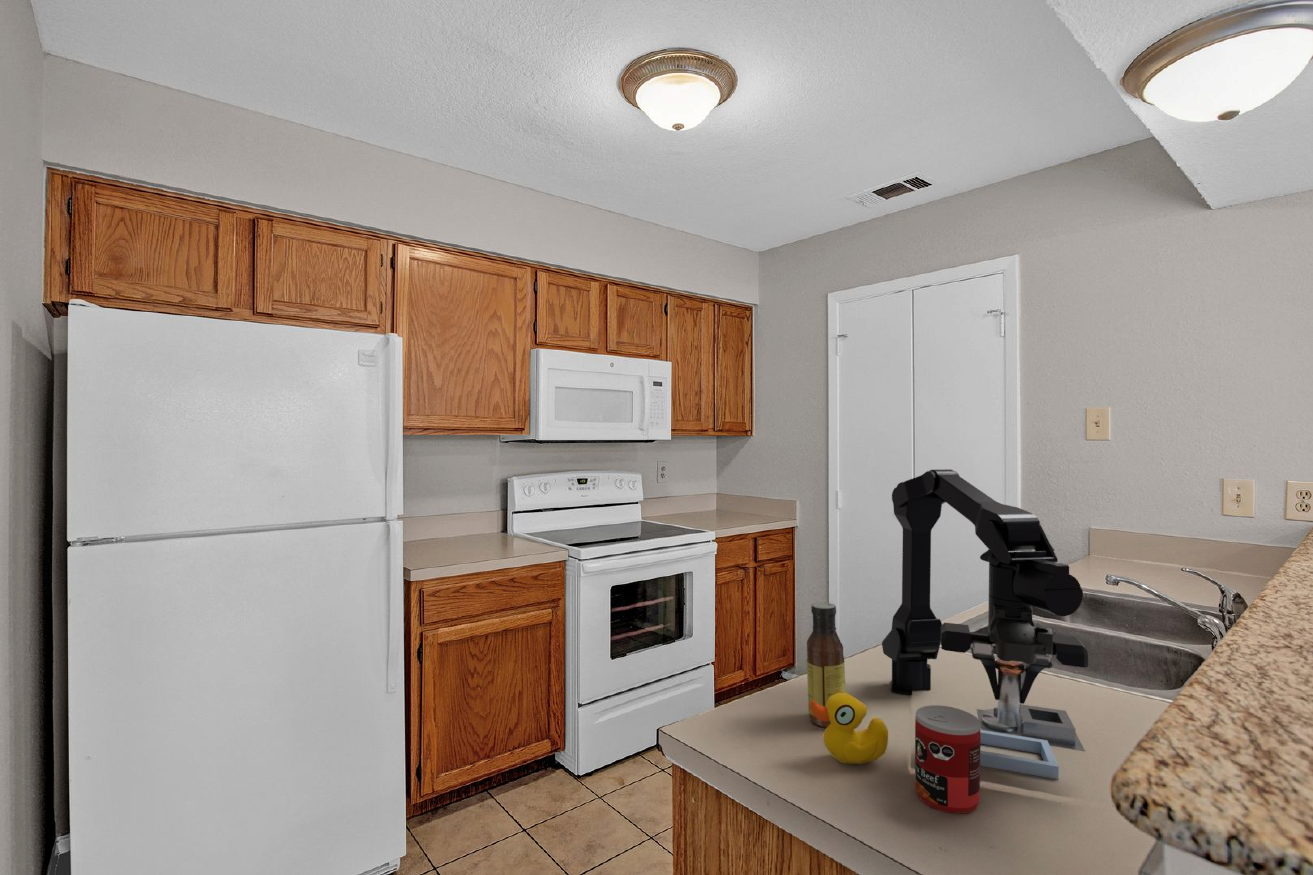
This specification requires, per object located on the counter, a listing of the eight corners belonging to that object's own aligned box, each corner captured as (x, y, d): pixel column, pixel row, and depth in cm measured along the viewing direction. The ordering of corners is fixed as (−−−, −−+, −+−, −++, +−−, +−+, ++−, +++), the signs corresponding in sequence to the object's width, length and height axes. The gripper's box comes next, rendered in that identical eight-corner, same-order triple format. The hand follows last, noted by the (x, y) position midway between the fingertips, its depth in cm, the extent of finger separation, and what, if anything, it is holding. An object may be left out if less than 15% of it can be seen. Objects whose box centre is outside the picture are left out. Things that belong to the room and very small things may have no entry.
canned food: (904, 783, 89) (905, 705, 89) (959, 780, 90) (959, 703, 90) (932, 816, 82) (933, 731, 82) (992, 813, 82) (993, 728, 82)
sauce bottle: (848, 717, 110) (849, 602, 110) (843, 733, 104) (843, 611, 104) (810, 710, 113) (810, 598, 112) (802, 725, 107) (803, 607, 107)
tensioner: (982, 739, 102) (982, 718, 102) (976, 713, 112) (976, 694, 111) (1085, 756, 97) (1085, 734, 97) (1070, 727, 106) (1070, 707, 106)
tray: (969, 768, 93) (969, 751, 93) (965, 742, 101) (965, 727, 101) (1058, 784, 89) (1058, 766, 89) (1047, 756, 97) (1047, 740, 97)
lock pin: (995, 725, 94) (996, 666, 94) (993, 714, 98) (993, 657, 97) (1025, 730, 93) (1026, 669, 92) (1021, 718, 96) (1022, 660, 96)
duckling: (812, 768, 93) (813, 700, 93) (807, 750, 99) (807, 686, 99) (892, 772, 92) (893, 703, 92) (882, 753, 98) (883, 688, 98)
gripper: (943, 603, 91) (942, 712, 91) (1099, 618, 84) (1097, 736, 84) (940, 585, 101) (939, 683, 101) (1079, 597, 94) (1077, 702, 94)
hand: (1009, 700), depth 95 cm, fingers closed on lock pin, 3 cm apart
